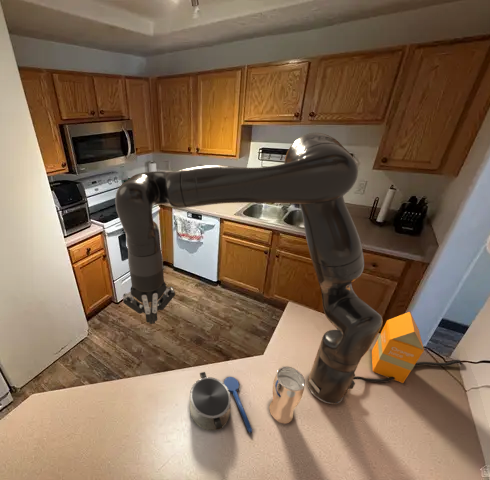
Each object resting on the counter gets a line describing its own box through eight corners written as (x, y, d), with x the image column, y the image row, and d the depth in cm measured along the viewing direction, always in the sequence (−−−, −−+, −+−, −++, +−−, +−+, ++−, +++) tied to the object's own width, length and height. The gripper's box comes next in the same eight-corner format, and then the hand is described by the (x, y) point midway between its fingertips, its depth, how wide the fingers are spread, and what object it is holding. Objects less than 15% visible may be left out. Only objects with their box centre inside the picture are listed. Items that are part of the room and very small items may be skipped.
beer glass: (296, 428, 68) (309, 394, 60) (269, 422, 69) (278, 389, 62) (291, 401, 74) (302, 367, 66) (266, 396, 75) (274, 363, 68)
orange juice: (372, 371, 81) (396, 325, 71) (371, 350, 87) (393, 306, 78) (403, 383, 77) (433, 337, 67) (400, 361, 84) (427, 315, 74)
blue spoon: (235, 377, 80) (235, 374, 80) (258, 431, 67) (259, 428, 67) (221, 380, 80) (221, 377, 79) (242, 435, 67) (243, 433, 66)
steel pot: (219, 379, 80) (220, 367, 77) (238, 433, 67) (240, 421, 64) (184, 387, 78) (184, 374, 75) (197, 443, 65) (198, 431, 62)
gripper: (116, 279, 54) (126, 337, 62) (178, 270, 56) (180, 327, 64) (116, 260, 60) (125, 315, 68) (171, 253, 62) (174, 307, 70)
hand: (152, 321), depth 66 cm, fingers closed
